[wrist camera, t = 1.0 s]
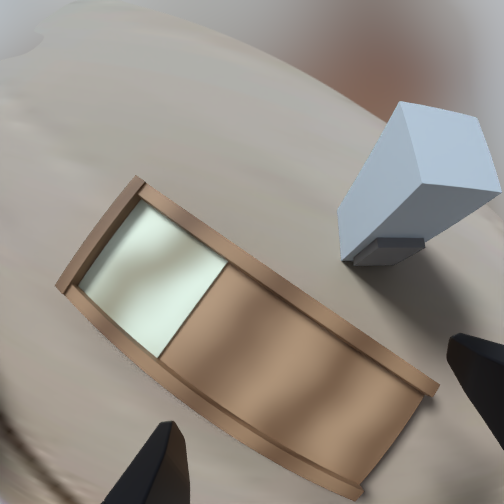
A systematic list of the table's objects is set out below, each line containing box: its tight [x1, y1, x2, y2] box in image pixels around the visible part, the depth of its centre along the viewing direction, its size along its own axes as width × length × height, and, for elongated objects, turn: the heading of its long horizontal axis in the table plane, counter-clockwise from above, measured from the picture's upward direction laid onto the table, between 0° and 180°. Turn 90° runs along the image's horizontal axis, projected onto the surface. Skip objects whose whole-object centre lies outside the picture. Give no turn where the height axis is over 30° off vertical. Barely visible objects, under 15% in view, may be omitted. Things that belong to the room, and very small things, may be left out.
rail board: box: [55, 175, 440, 501], centre depth 20 cm, size 26×10×3 cm, turn 54°
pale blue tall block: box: [337, 101, 502, 266], centre depth 17 cm, size 5×4×13 cm
